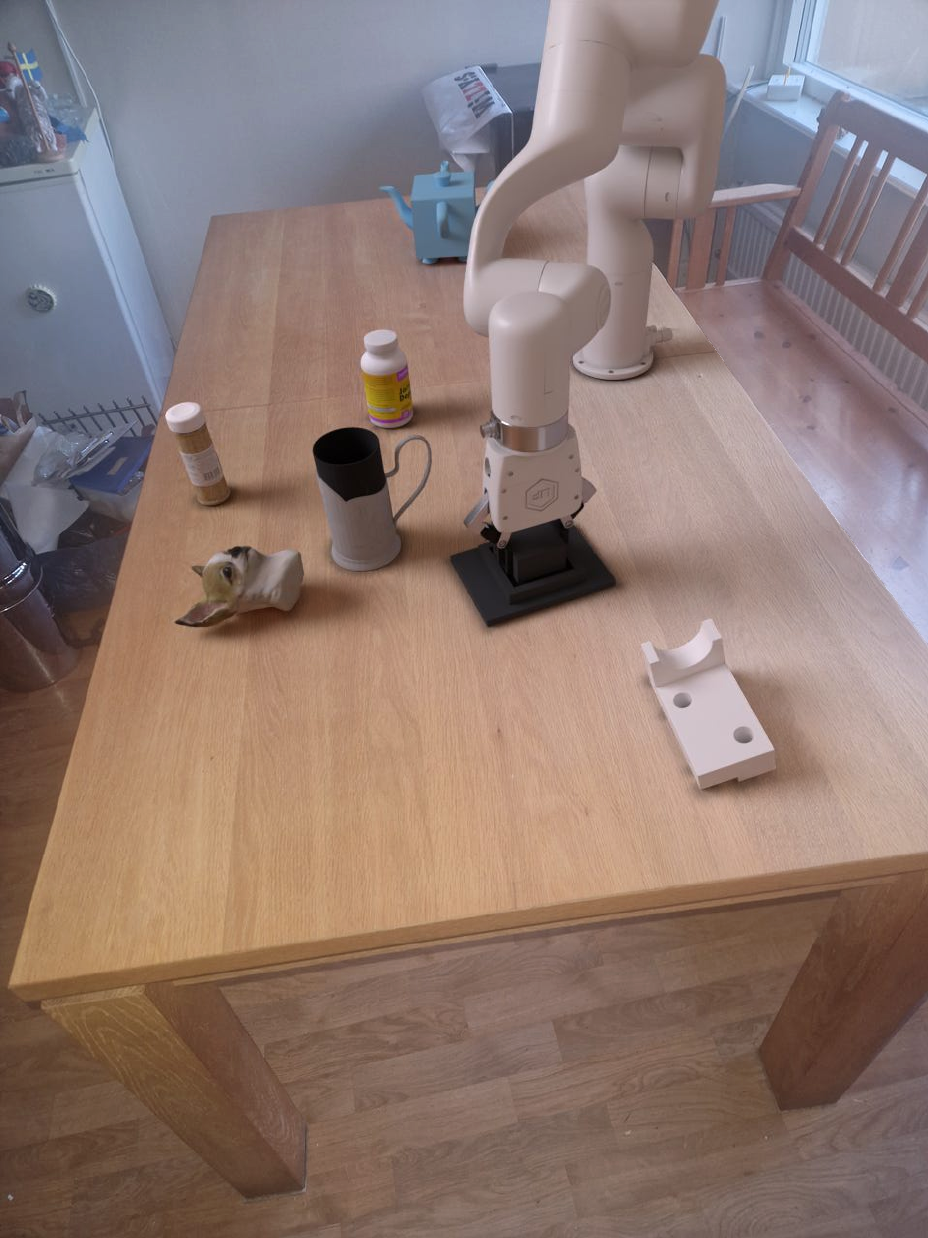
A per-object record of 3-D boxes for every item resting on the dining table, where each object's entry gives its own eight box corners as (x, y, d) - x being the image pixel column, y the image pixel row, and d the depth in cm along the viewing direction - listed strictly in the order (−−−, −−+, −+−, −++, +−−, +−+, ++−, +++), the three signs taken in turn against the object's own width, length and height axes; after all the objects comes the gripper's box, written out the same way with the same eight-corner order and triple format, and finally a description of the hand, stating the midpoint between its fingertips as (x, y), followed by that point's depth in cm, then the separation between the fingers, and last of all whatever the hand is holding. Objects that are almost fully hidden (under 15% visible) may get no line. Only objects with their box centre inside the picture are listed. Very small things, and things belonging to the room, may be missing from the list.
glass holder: (322, 537, 101) (297, 436, 91) (426, 505, 105) (414, 403, 94) (343, 579, 96) (319, 477, 85) (452, 544, 99) (442, 440, 88)
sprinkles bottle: (226, 483, 111) (196, 396, 101) (234, 500, 108) (205, 413, 98) (194, 493, 110) (161, 407, 100) (201, 511, 107) (168, 424, 97)
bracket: (651, 688, 83) (640, 644, 77) (717, 664, 82) (710, 618, 76) (701, 794, 74) (692, 753, 68) (776, 769, 73) (772, 725, 67)
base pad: (569, 525, 100) (570, 509, 98) (615, 585, 92) (617, 569, 90) (450, 561, 97) (448, 545, 95) (487, 627, 89) (486, 611, 87)
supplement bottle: (407, 431, 117) (396, 349, 108) (364, 428, 118) (350, 347, 109) (418, 406, 122) (409, 326, 112) (376, 404, 123) (364, 324, 114)
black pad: (543, 537, 96) (544, 514, 93) (565, 568, 92) (566, 545, 89) (497, 551, 94) (496, 528, 92) (517, 583, 90) (517, 560, 88)
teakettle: (446, 279, 153) (440, 197, 142) (383, 255, 163) (373, 176, 152) (514, 247, 161) (512, 167, 151) (449, 226, 171) (444, 150, 161)
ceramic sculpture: (289, 574, 84) (152, 589, 85) (311, 630, 90) (182, 644, 91) (301, 511, 91) (174, 526, 92) (320, 567, 97) (201, 581, 98)
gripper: (463, 465, 76) (473, 599, 89) (625, 420, 79) (612, 556, 92) (436, 425, 80) (450, 558, 93) (590, 384, 84) (583, 518, 97)
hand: (531, 556), depth 93 cm, fingers closed on black pad, 6 cm apart
